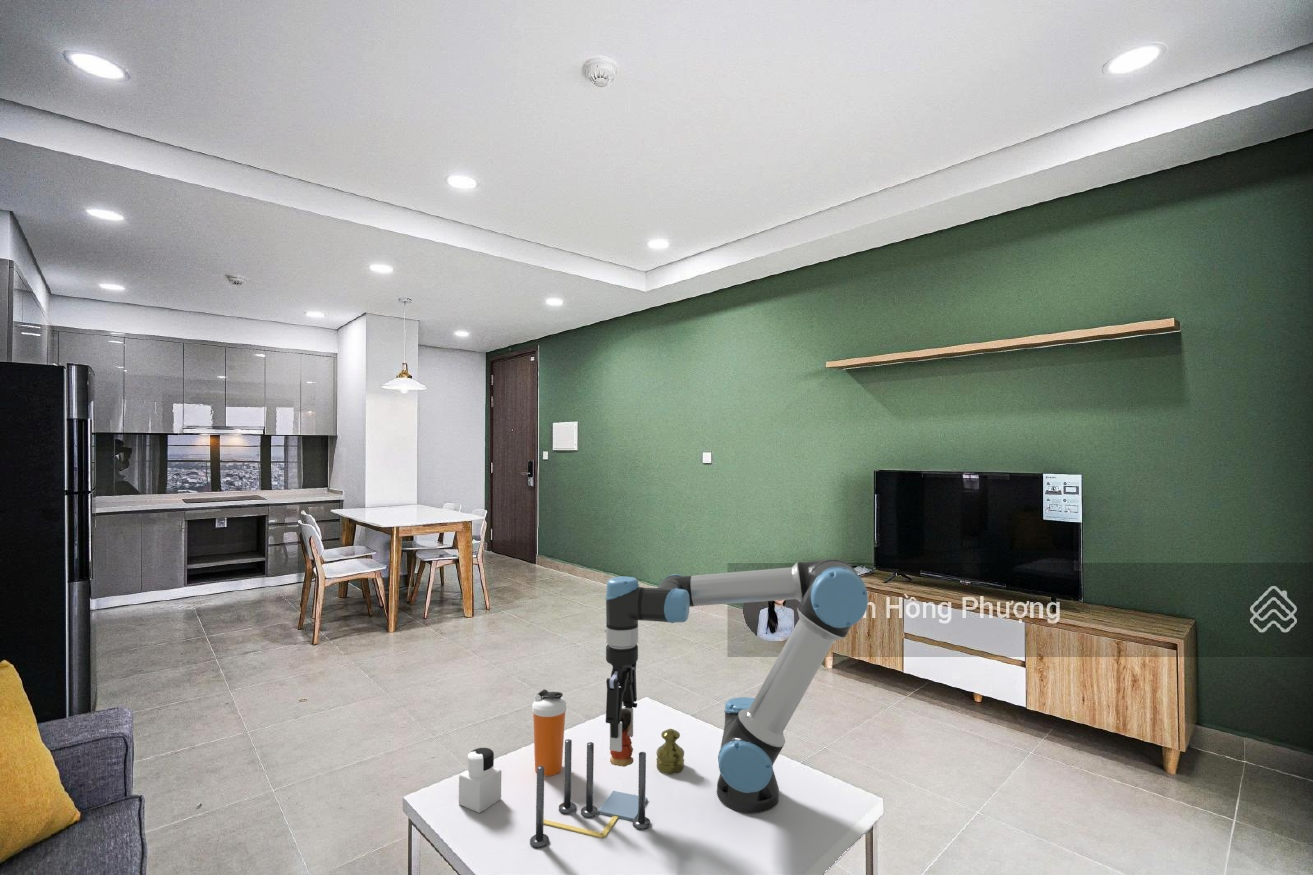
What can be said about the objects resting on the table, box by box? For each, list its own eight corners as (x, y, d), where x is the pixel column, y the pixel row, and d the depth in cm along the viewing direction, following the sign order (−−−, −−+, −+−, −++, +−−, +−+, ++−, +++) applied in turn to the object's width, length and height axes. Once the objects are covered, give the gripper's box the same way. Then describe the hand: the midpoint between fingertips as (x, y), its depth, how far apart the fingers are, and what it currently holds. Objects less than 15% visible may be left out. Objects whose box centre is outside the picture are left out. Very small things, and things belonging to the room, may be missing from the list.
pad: (647, 800, 150) (647, 797, 150) (634, 821, 142) (634, 818, 142) (613, 793, 153) (613, 790, 153) (598, 813, 145) (598, 810, 145)
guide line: (618, 817, 143) (618, 816, 143) (604, 838, 135) (604, 837, 135) (558, 804, 148) (558, 802, 148) (540, 823, 140) (540, 822, 140)
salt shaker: (677, 777, 161) (677, 738, 161) (651, 770, 164) (652, 732, 164) (688, 764, 167) (688, 727, 167) (663, 758, 171) (663, 721, 171)
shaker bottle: (558, 780, 159) (559, 701, 159) (525, 775, 161) (527, 698, 161) (570, 762, 167) (571, 688, 168) (539, 759, 169) (540, 685, 170)
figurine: (636, 766, 143) (637, 714, 143) (613, 770, 141) (613, 717, 142) (629, 754, 149) (630, 703, 149) (607, 757, 147) (607, 706, 148)
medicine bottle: (480, 790, 154) (481, 741, 154) (501, 799, 150) (502, 749, 150) (458, 804, 147) (458, 753, 148) (479, 814, 144) (480, 762, 144)
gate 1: (578, 806, 147) (579, 738, 148) (543, 850, 131) (544, 773, 131) (563, 802, 149) (564, 735, 149) (526, 845, 133) (527, 770, 133)
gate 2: (652, 821, 142) (653, 751, 142) (646, 831, 138) (647, 759, 138) (585, 806, 147) (586, 738, 148) (577, 815, 143) (578, 746, 144)
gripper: (622, 630, 156) (621, 722, 156) (590, 656, 137) (589, 760, 137) (650, 633, 154) (650, 726, 154) (621, 659, 135) (621, 765, 135)
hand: (621, 742), depth 145 cm, fingers closed on figurine, 7 cm apart
